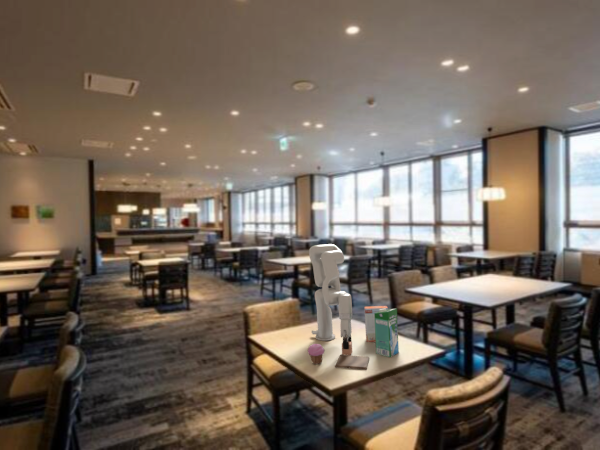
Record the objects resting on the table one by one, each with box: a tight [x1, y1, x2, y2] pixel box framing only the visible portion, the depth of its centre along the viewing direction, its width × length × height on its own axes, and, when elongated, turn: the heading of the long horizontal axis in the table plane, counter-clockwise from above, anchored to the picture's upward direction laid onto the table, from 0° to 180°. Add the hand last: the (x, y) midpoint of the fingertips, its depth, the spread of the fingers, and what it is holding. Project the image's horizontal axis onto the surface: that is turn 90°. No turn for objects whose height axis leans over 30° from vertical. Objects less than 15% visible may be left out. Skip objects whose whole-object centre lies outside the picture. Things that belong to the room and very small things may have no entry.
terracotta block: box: [341, 341, 353, 356], centre depth 203 cm, size 5×5×6 cm
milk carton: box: [374, 308, 400, 358], centre depth 201 cm, size 9×9×25 cm
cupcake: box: [307, 343, 325, 365], centre depth 192 cm, size 9×9×10 cm
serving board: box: [334, 354, 370, 370], centre depth 189 cm, size 16×14×1 cm
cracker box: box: [363, 305, 389, 343], centre depth 222 cm, size 14×6×21 cm, turn 84°
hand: (347, 346), depth 203 cm, fingers open, 9 cm apart
